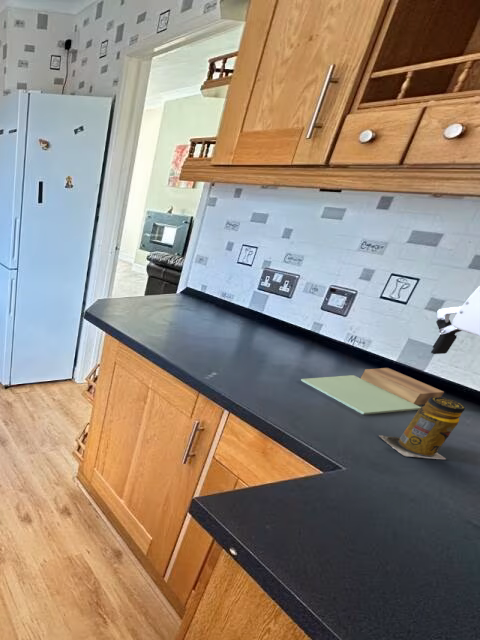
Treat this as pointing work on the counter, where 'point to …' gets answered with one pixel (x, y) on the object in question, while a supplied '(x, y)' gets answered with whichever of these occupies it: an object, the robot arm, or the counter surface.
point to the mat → (360, 394)
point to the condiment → (428, 429)
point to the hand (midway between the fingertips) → (466, 363)
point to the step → (401, 385)
